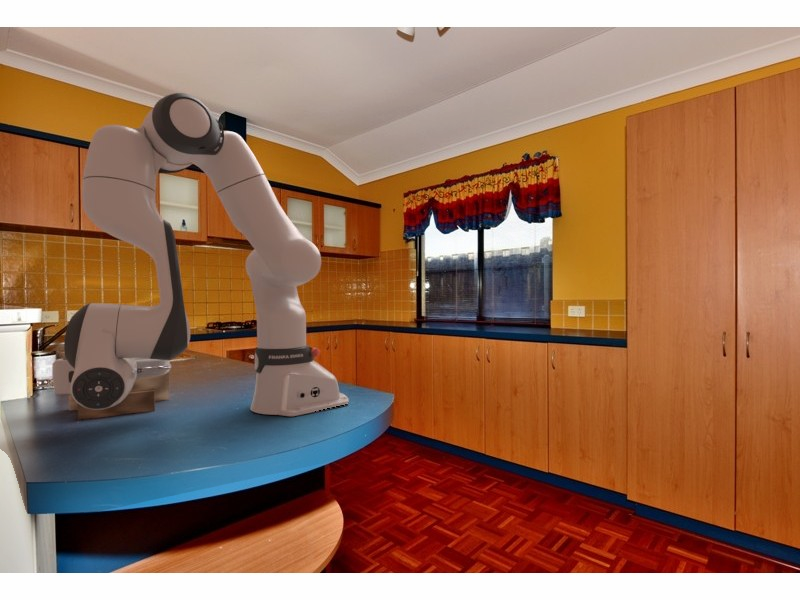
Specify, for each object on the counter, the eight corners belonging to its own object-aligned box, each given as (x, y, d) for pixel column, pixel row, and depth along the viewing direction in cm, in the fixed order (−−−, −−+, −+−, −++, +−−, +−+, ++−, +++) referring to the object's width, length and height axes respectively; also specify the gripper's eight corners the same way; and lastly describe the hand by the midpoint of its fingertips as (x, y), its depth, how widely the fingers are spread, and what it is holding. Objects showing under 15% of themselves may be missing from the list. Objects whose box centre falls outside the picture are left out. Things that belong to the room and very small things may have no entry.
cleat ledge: (155, 401, 103) (155, 383, 103) (154, 410, 95) (154, 390, 95) (85, 409, 96) (85, 389, 96) (77, 420, 88) (77, 398, 88)
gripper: (171, 352, 86) (171, 345, 98) (43, 360, 76) (60, 351, 88) (171, 383, 86) (171, 372, 98) (44, 395, 76) (61, 381, 88)
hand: (118, 362), depth 93 cm, fingers open, 8 cm apart
